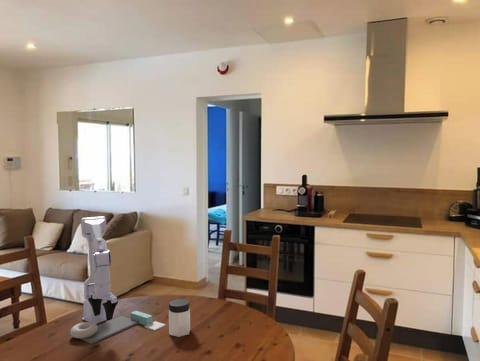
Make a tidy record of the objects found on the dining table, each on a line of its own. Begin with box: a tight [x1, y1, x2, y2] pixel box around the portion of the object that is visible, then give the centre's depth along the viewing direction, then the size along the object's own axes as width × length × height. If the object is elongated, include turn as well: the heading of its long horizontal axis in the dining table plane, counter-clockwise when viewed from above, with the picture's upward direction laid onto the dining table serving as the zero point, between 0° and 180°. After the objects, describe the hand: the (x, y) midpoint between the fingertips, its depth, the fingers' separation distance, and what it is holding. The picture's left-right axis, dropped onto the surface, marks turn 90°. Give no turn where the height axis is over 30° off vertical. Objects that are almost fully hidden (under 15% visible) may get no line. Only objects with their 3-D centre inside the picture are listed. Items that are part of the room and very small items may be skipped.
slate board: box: [78, 315, 139, 345], centre depth 159 cm, size 11×22×1 cm, turn 145°
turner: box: [130, 310, 167, 332], centre depth 164 cm, size 16×6×4 cm, turn 56°
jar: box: [168, 298, 191, 338], centre depth 156 cm, size 9×8×12 cm
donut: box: [69, 321, 98, 339], centre depth 153 cm, size 10×4×10 cm
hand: (103, 317), depth 151 cm, fingers open, 7 cm apart
